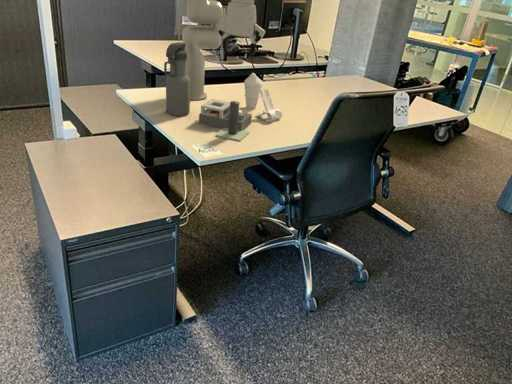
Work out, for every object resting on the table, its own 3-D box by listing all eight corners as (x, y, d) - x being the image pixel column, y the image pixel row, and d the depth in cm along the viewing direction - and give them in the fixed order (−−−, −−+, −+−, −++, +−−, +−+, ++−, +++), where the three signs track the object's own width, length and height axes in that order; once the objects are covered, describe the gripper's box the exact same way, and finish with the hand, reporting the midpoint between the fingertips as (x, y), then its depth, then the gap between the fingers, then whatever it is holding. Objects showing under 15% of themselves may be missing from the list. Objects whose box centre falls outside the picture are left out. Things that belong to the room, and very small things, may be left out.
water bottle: (178, 118, 172) (179, 47, 158) (160, 112, 176) (159, 42, 162) (194, 113, 179) (196, 44, 166) (176, 107, 184) (177, 40, 170)
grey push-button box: (198, 123, 169) (199, 105, 165) (210, 115, 179) (211, 98, 175) (241, 132, 164) (242, 114, 161) (250, 123, 175) (252, 106, 171)
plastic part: (271, 123, 178) (274, 96, 172) (252, 117, 183) (255, 90, 177) (281, 120, 183) (284, 93, 178) (263, 113, 188) (266, 87, 183)
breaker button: (210, 121, 171) (210, 114, 170) (213, 118, 174) (214, 111, 173) (218, 123, 170) (219, 116, 169) (222, 120, 174) (222, 113, 172)
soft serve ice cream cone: (248, 103, 199) (251, 69, 192) (263, 107, 196) (267, 73, 188) (238, 107, 193) (241, 72, 185) (254, 111, 189) (257, 75, 182)
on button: (231, 116, 167) (232, 111, 166) (234, 113, 170) (235, 109, 169) (240, 117, 167) (240, 113, 166) (243, 115, 170) (243, 110, 169)
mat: (215, 136, 158) (215, 134, 158) (225, 128, 167) (225, 126, 167) (240, 141, 156) (240, 139, 156) (249, 133, 165) (249, 131, 164)
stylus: (226, 133, 160) (228, 102, 154) (230, 130, 163) (232, 100, 157) (235, 135, 159) (237, 104, 154) (238, 132, 162) (240, 102, 157)
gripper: (214, -4, 138) (211, 50, 146) (264, 3, 134) (259, 58, 142) (222, -5, 144) (219, 47, 152) (271, 2, 140) (265, 55, 148)
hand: (238, 52), depth 147 cm, fingers open, 9 cm apart
